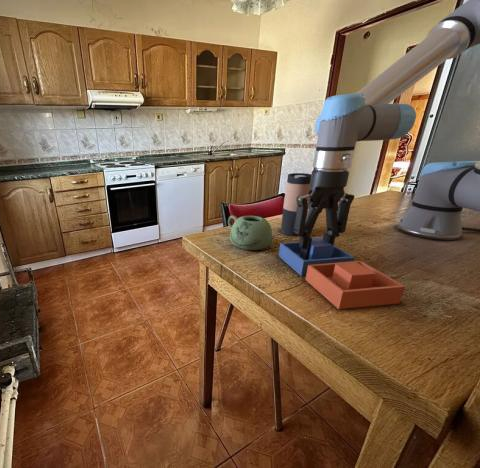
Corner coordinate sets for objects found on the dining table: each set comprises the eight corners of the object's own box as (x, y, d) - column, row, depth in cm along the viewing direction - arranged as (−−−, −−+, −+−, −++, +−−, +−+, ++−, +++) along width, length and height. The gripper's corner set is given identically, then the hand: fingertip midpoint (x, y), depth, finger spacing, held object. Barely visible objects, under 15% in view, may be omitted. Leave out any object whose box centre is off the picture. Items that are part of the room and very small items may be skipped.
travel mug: (299, 228, 94) (308, 172, 86) (307, 236, 86) (318, 176, 79) (277, 228, 94) (284, 173, 87) (283, 236, 87) (292, 176, 80)
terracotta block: (351, 281, 59) (356, 262, 57) (368, 294, 55) (375, 273, 53) (330, 283, 59) (335, 263, 57) (346, 295, 54) (352, 275, 52)
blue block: (316, 254, 71) (319, 237, 69) (328, 262, 66) (332, 245, 65) (299, 255, 71) (302, 239, 69) (310, 264, 66) (313, 246, 64)
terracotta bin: (356, 275, 63) (360, 260, 61) (399, 303, 52) (405, 286, 51) (305, 279, 62) (308, 264, 60) (338, 309, 51) (342, 292, 50)
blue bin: (321, 252, 75) (324, 239, 73) (351, 271, 64) (354, 257, 63) (278, 256, 74) (280, 243, 72) (301, 276, 63) (303, 261, 62)
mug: (280, 245, 81) (283, 218, 77) (253, 256, 74) (256, 228, 71) (239, 231, 93) (241, 208, 90) (214, 240, 86) (215, 215, 83)
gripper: (303, 173, 56) (289, 267, 64) (380, 169, 57) (356, 261, 66) (285, 169, 63) (274, 254, 71) (354, 165, 64) (335, 249, 73)
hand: (313, 258), depth 68 cm, fingers closed on blue block, 5 cm apart
